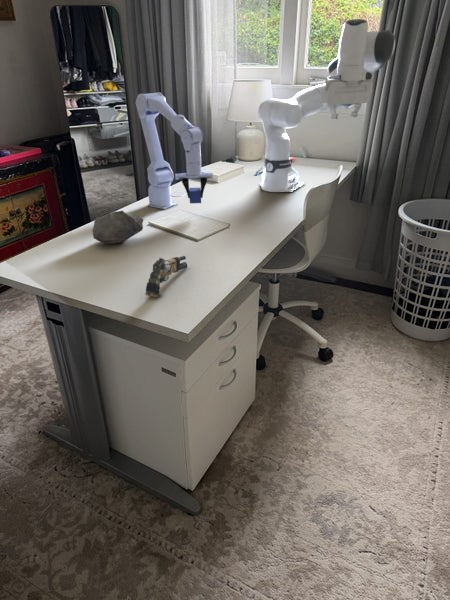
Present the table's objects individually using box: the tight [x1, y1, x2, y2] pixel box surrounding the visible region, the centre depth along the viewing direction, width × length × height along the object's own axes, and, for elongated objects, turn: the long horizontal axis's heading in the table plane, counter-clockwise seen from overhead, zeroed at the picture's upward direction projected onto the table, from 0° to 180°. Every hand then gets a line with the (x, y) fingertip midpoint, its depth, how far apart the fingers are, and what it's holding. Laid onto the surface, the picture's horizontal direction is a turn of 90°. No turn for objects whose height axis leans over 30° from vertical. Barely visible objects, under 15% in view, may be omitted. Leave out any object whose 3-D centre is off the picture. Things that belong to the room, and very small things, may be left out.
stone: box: [91, 210, 144, 244], centre depth 146 cm, size 18×10×15 cm
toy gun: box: [145, 255, 188, 298], centre depth 120 cm, size 3×21×10 cm, turn 158°
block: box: [189, 187, 202, 204], centre depth 167 cm, size 4×5×5 cm
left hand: (195, 197), depth 167 cm, fingers closed on block, 4 cm apart
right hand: (344, 117), depth 154 cm, fingers open, 8 cm apart
